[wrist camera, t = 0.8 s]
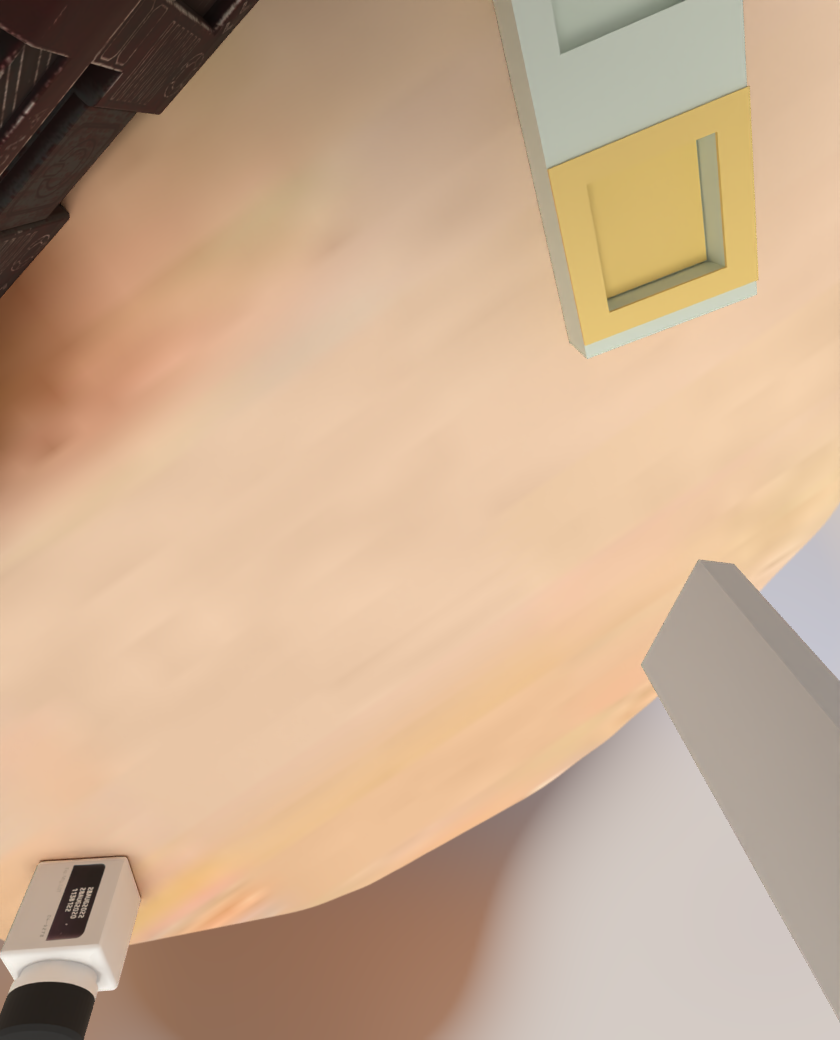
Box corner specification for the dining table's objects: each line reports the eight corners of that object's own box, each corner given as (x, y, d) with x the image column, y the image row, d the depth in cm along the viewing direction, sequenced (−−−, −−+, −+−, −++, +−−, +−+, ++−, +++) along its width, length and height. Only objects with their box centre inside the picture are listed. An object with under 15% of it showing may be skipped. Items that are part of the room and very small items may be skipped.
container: (37, 859, 55) (-39, 1039, 44) (128, 854, 56) (74, 1029, 45) (58, 904, 59) (-7, 1079, 48) (142, 898, 60) (96, 1068, 49)
